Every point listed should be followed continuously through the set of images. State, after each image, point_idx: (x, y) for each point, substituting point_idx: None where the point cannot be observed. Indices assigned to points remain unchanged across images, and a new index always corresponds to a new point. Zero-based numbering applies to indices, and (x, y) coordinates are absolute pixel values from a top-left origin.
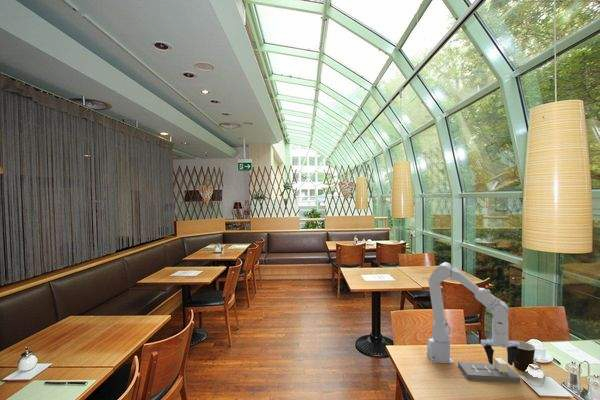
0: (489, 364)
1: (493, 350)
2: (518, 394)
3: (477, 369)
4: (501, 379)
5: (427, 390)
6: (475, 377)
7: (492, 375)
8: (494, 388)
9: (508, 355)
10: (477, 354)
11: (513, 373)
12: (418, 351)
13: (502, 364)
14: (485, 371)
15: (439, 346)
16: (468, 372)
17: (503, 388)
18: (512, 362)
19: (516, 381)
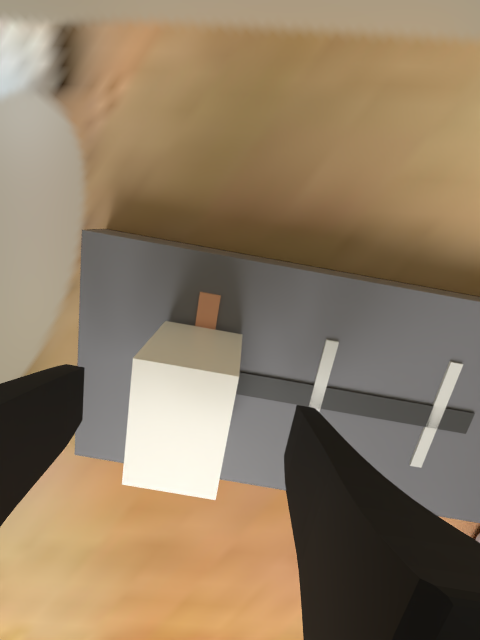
0: (237, 467)
1: (441, 582)
2: (262, 28)
3: (423, 402)
4: (273, 260)
5: None
6: None
7: (353, 292)
8: (426, 153)
9: (9, 490)
10: (191, 610)
11: (106, 310)
12: None
13: (201, 363)
14: (369, 365)
15: None
16: None
17: (336, 147)
18: (39, 374)
19: (138, 236)
